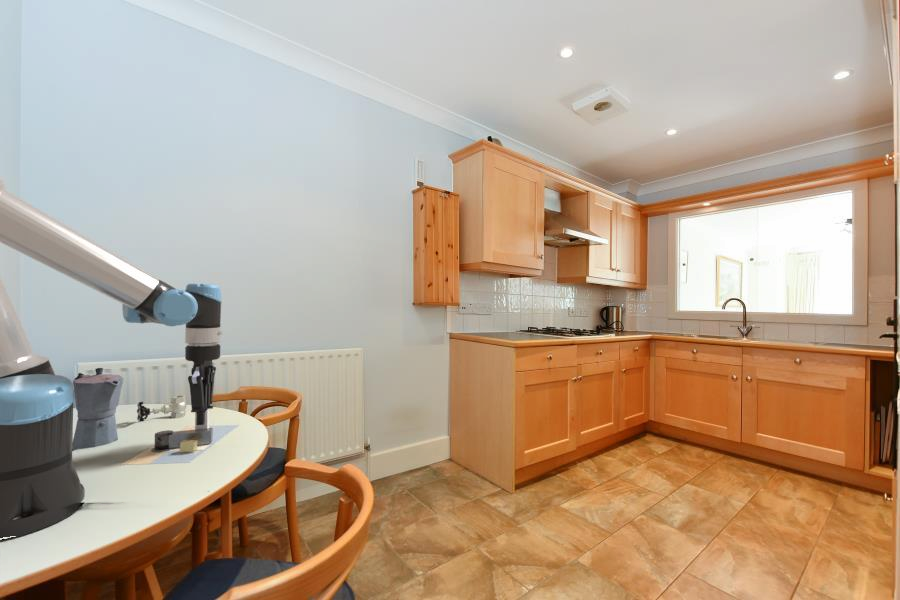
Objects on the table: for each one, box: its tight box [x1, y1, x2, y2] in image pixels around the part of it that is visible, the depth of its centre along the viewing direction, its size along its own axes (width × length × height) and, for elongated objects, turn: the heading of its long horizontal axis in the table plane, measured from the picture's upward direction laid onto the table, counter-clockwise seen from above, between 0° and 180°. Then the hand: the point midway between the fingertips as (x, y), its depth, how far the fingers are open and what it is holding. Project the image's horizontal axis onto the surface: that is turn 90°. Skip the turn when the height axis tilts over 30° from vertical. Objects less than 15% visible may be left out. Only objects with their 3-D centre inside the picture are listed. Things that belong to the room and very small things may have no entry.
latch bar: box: [153, 428, 213, 450], centre depth 94 cm, size 12×4×4 cm, turn 113°
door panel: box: [120, 424, 240, 466], centre depth 97 cm, size 26×14×1 cm, turn 7°
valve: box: [136, 394, 187, 422], centre depth 118 cm, size 7×7×12 cm
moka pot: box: [72, 367, 124, 452], centre depth 96 cm, size 10×15×20 cm, turn 78°
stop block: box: [180, 440, 197, 453], centre depth 91 cm, size 2×3×2 cm, turn 97°
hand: (201, 435), depth 97 cm, fingers closed
